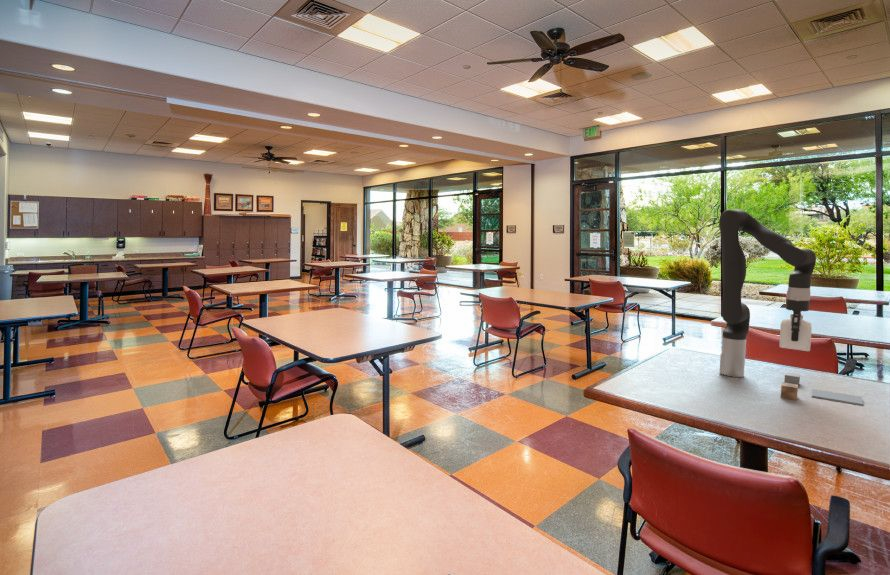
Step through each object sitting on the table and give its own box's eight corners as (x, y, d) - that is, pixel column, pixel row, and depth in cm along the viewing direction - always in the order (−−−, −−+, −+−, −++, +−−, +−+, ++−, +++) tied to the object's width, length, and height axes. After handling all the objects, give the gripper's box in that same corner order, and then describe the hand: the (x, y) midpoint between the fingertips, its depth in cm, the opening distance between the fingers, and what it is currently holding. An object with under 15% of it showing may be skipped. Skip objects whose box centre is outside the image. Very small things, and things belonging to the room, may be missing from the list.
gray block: (784, 383, 197) (784, 374, 197) (784, 381, 200) (785, 372, 200) (798, 386, 194) (799, 377, 193) (799, 383, 197) (800, 374, 196)
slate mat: (811, 396, 181) (811, 395, 181) (812, 390, 188) (812, 388, 188) (863, 405, 171) (863, 404, 171) (861, 398, 179) (861, 396, 179)
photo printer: (777, 347, 189) (779, 318, 188) (780, 345, 192) (782, 316, 191) (808, 352, 182) (811, 321, 180) (811, 350, 184) (813, 320, 183)
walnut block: (780, 397, 181) (781, 385, 180) (781, 394, 184) (782, 382, 184) (796, 400, 177) (797, 388, 177) (797, 396, 181) (798, 384, 181)
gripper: (787, 295, 192) (784, 335, 194) (785, 299, 181) (782, 341, 183) (810, 297, 188) (807, 337, 189) (809, 301, 177) (805, 344, 179)
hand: (794, 339), depth 186 cm, fingers closed on photo printer, 4 cm apart
